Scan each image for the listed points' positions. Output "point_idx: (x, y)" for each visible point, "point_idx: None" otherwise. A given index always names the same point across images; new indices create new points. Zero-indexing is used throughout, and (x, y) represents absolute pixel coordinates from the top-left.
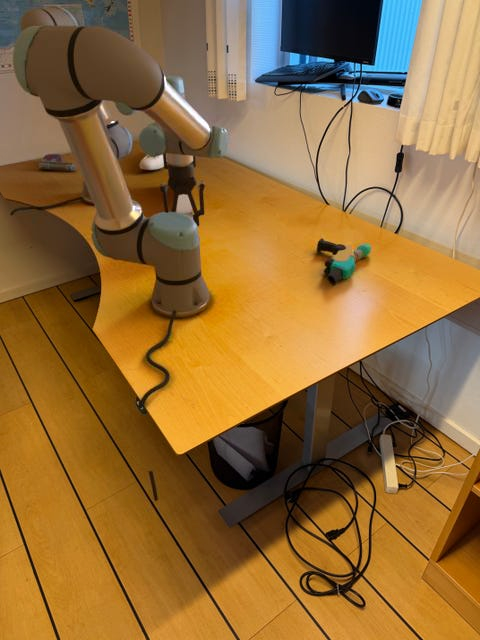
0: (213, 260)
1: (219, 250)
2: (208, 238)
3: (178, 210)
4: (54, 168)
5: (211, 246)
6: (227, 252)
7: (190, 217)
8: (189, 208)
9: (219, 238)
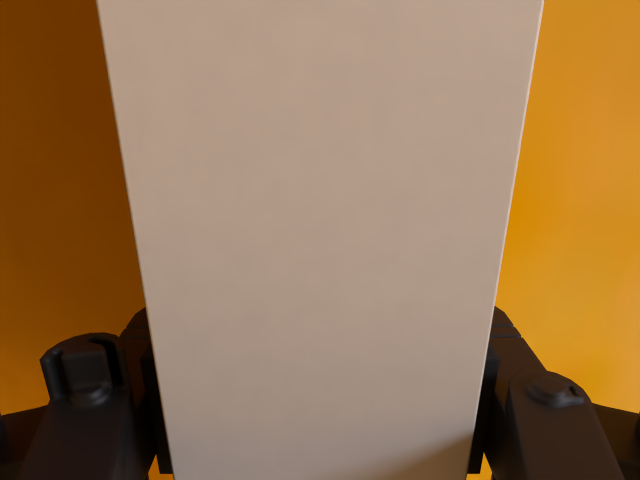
0: (476, 477)
1: (552, 371)
2: (522, 162)
3: (189, 337)
4: None
5: (510, 307)
6: (598, 403)
7: None
8: (448, 269)
9: (620, 178)
